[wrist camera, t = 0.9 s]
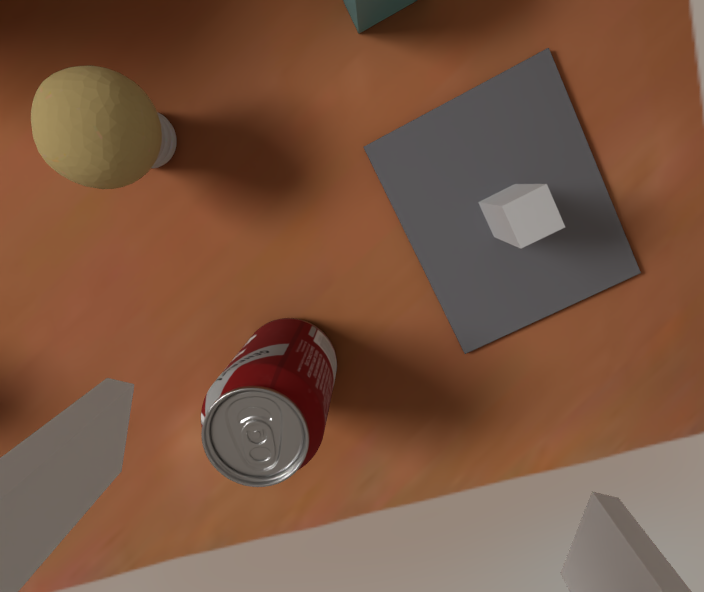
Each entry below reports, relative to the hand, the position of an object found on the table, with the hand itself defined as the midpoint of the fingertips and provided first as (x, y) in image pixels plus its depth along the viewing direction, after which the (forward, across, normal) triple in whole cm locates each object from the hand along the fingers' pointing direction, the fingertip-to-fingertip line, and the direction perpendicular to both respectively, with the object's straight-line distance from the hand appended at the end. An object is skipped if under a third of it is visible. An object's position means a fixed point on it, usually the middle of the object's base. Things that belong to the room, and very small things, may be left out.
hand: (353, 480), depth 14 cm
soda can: (+23, -4, -6) cm, 24 cm away
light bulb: (+23, -16, +7) cm, 29 cm away
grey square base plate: (+23, +8, +8) cm, 25 cm away
